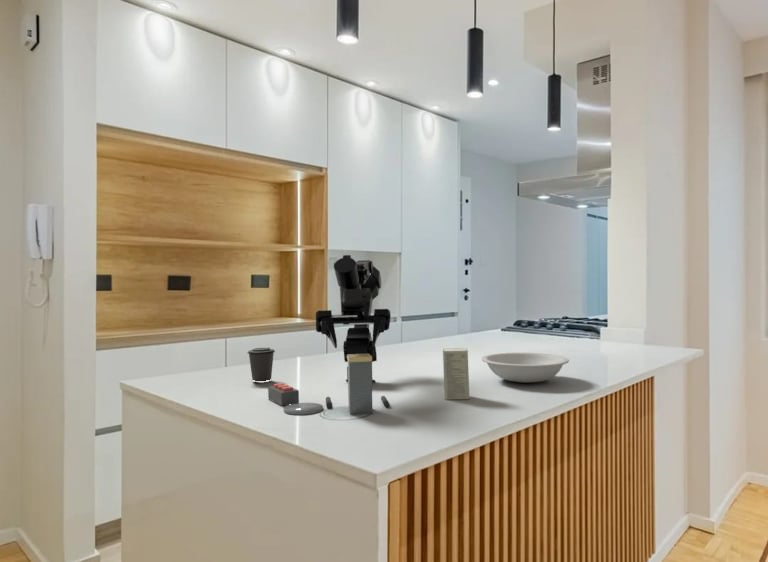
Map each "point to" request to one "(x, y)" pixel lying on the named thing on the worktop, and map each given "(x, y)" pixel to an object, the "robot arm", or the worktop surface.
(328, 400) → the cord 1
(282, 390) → the gray power strip
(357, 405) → the charcoal tea tin
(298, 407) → the gray disc
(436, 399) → the worktop surface
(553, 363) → the soup bowl
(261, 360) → the coffee cup
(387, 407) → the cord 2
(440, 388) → the worktop surface
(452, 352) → the skincare box
